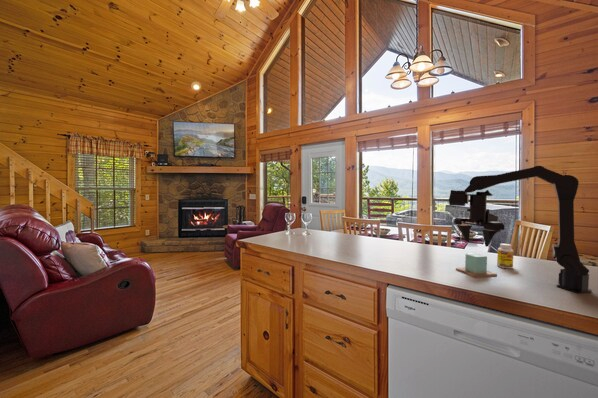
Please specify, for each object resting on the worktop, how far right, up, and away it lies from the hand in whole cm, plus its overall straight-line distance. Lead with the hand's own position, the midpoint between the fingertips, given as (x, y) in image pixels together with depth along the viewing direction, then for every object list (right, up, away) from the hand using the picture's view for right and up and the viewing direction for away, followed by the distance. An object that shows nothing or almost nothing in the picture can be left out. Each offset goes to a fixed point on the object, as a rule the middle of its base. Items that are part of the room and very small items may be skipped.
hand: (476, 244), depth 109 cm
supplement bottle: (+18, -12, +8) cm, 23 cm away
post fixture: (-1, -12, 0) cm, 12 cm away
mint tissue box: (-1, -11, 0) cm, 11 cm away
